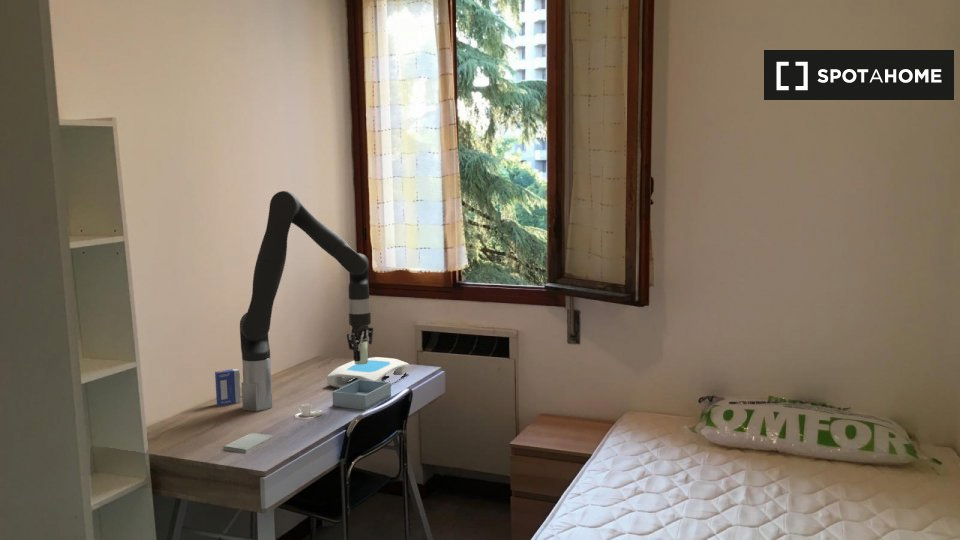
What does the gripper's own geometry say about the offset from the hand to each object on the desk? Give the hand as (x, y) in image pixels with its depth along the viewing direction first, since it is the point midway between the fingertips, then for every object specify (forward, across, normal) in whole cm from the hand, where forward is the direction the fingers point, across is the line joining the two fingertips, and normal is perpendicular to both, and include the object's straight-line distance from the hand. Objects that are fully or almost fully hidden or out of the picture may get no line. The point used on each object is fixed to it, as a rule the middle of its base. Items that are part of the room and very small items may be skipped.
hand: (361, 359), depth 257 cm
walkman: (+15, -19, +43) cm, 49 cm away
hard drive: (+16, -49, +9) cm, 52 cm away
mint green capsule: (+1, 0, 0) cm, 1 cm away
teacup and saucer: (+16, -22, +6) cm, 28 cm away
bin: (+15, 0, 0) cm, 15 cm away
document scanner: (+16, +24, +12) cm, 31 cm away
